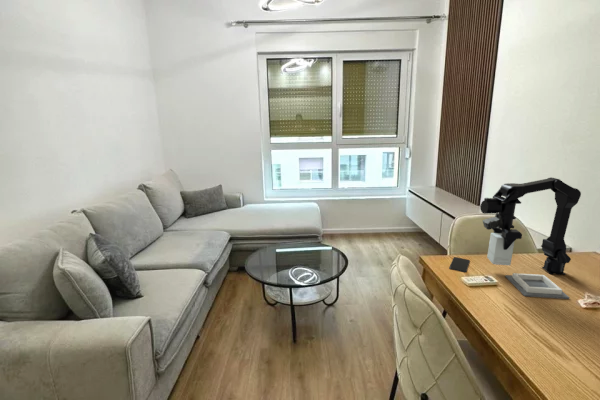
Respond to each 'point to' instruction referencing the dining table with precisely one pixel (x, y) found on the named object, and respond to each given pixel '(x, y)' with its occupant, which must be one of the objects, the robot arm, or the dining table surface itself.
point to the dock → (536, 286)
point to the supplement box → (499, 250)
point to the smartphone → (459, 264)
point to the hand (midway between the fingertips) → (500, 246)
